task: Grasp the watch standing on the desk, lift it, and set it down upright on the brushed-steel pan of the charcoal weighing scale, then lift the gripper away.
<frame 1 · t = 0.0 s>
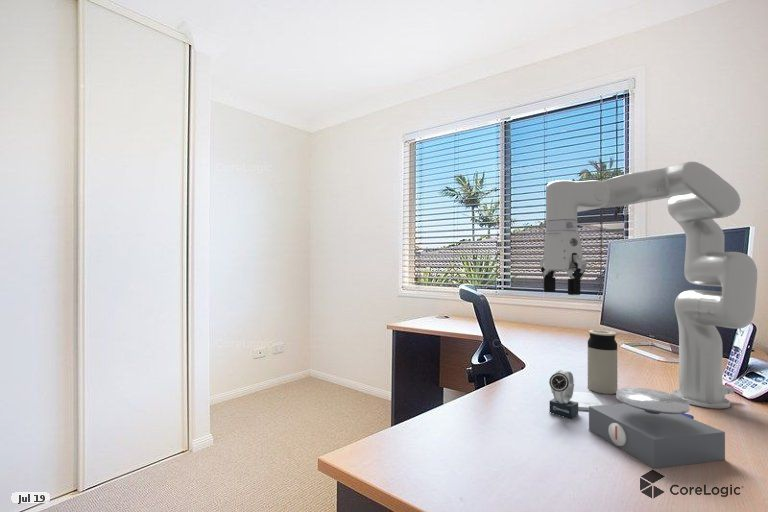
hand: (561, 293, 100), 31 cm above the table, tool pointing down, fingers open, 9 cm apart
scale pan: (651, 404, 83), point 8 cm above the table, slide at -0.5 cm
external hard drive: (584, 405, 107), on the table
watch: (563, 414, 98), on the table
scale: (651, 443, 82), on the table
eraser: (665, 419, 97), on the table
travel mug: (602, 391, 117), on the table
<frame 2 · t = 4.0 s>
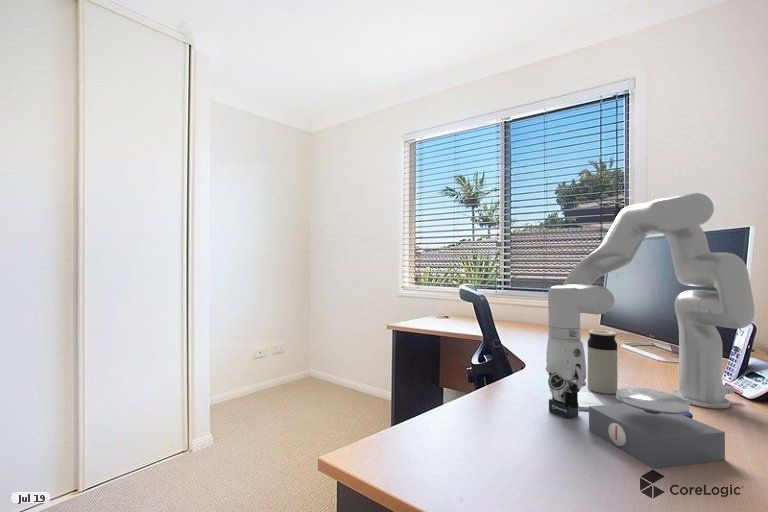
hand: (564, 403, 99), 3 cm above the table, tool pointing down, fingers open, 4 cm apart
watch: (563, 414, 99), on the table, touching gripper
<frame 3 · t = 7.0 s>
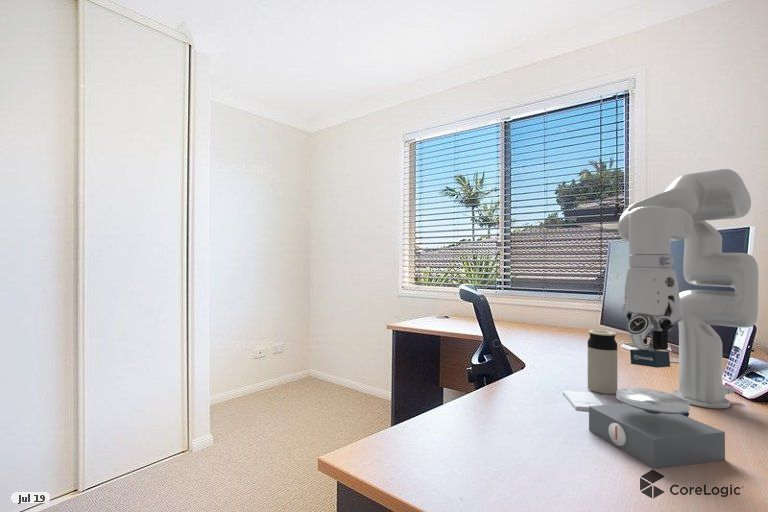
hand: (649, 345, 83), 21 cm above the table, tool pointing down, fingers closed on watch, 4 cm apart
watch: (650, 366, 82), point 17 cm above the table, touching gripper
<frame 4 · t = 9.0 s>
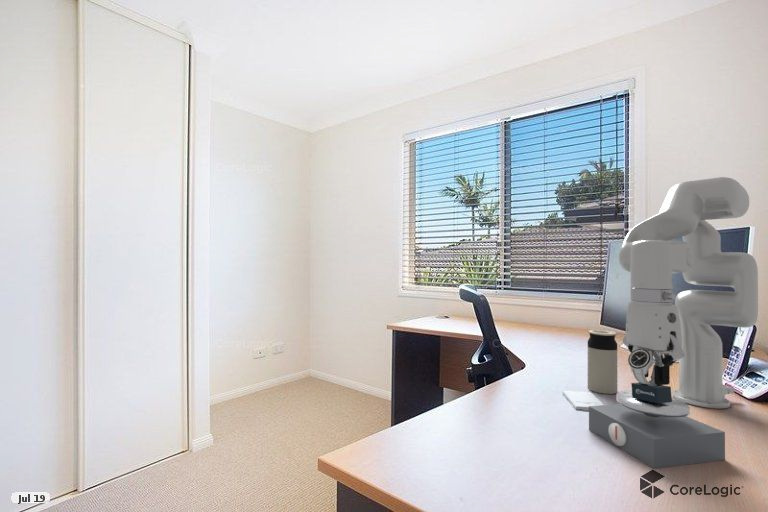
hand: (651, 379, 83), 14 cm above the table, tool pointing down, fingers closed on watch, 4 cm apart
scale pan: (651, 407, 83), point 8 cm above the table, slide at -1.2 cm, touching watch
watch: (651, 400, 82), point 10 cm above the table, touching gripper, scale pan
when the fingers open (14 cm above the table, at t = 9.5 s): watch stays where it is, resting on scale pan.
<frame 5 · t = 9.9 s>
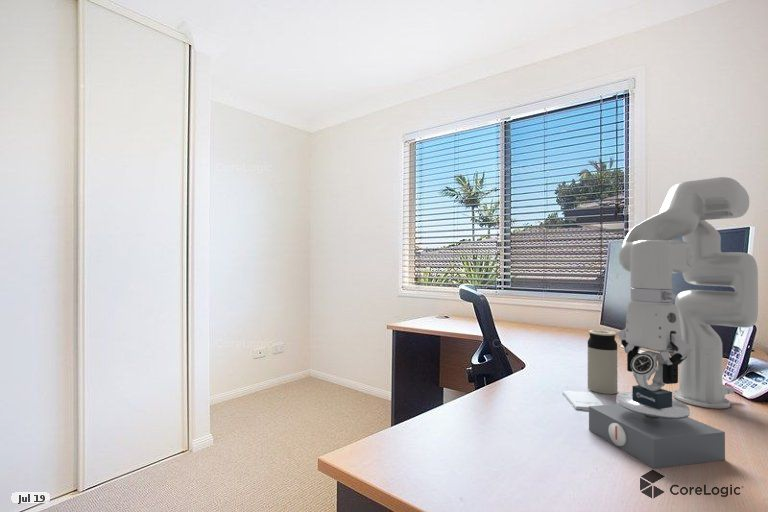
hand: (651, 376, 83), 15 cm above the table, tool pointing down, fingers open, 8 cm apart
scale pan: (651, 409, 83), point 7 cm above the table, slide at -1.5 cm, touching watch
watch: (651, 404, 82), point 9 cm above the table, touching scale pan
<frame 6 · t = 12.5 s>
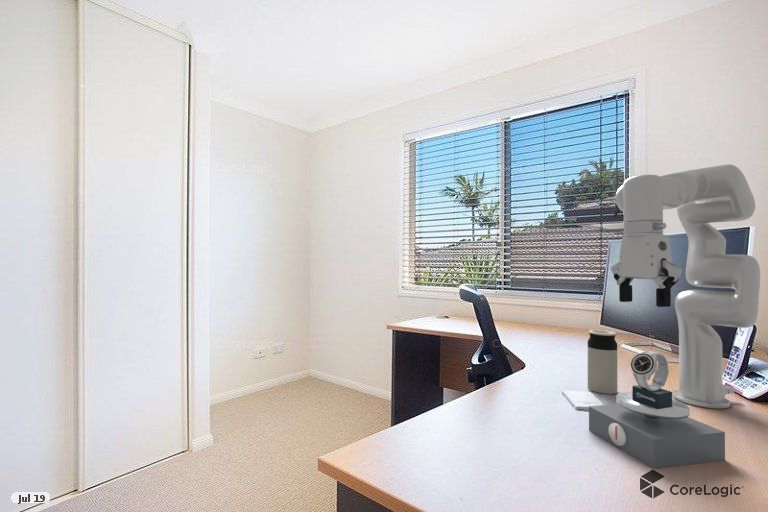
hand: (643, 304, 87), 30 cm above the table, tool pointing down, fingers open, 9 cm apart
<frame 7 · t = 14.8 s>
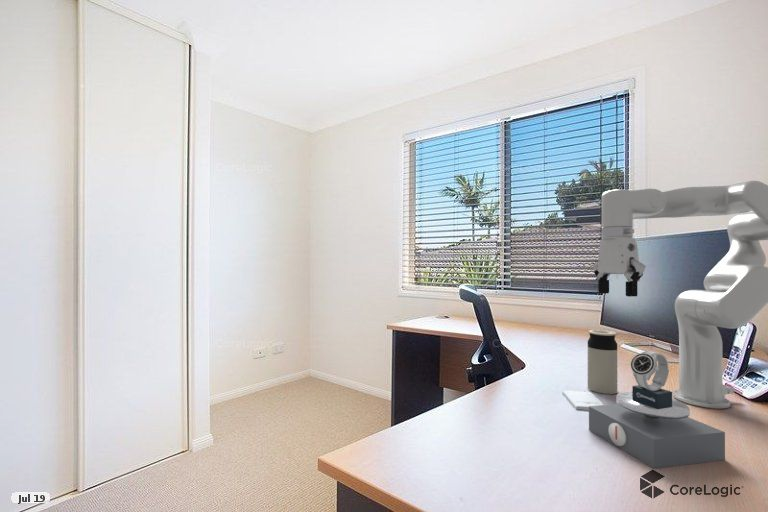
hand: (617, 294, 107), 30 cm above the table, tool pointing down, fingers open, 9 cm apart
at the end: watch inside the target area on the scale (1.0 cm from its centre), point 8.8 cm above the scale's base; watch tilted 0°; watch touching scale pan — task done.
